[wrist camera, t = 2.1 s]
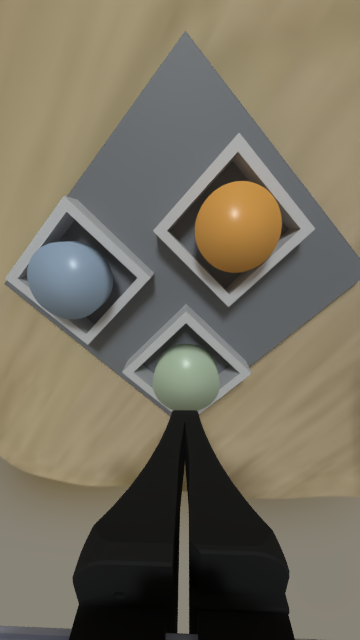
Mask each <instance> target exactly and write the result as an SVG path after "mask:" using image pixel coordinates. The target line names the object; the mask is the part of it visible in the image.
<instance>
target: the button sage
mask: <svg viewBox="0 0 360 640" xmlns="http://www.w3.org/2000/svg"><path fill="white" fill-rule="evenodd" d="M152 385H153V390H154V393H155V395H156V397H157V398H158V400H159V401H160V402H161V403H162V404H163V405H165V406H166V407H168V408H170V409H172V410H196V411H198V410H201V409H203V408H205V407H207V406H208V405H210V404H211V403H212V402H213V401H214V399H215V398H216V396H217V395H218V392H219V388H220V380H219V375H218V370H217V365H216V362H215V360H214V358H213V357H212V355H211V354H210V353H209V352H208V351H207V350H205V349H204V348H202V347H200V346H197V345H193V344H179V345H175V346H172V347H170V348H169V349H167V350H166V351H164V352H163V353H162V354H161V356H160V357H159V359H158V361H157V364H156V368H155V372H154V376H153V384H152Z"/></svg>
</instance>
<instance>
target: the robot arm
mask: <svg viewBox="0 0 360 640" xmlns="http://www.w3.org/2000/svg"><path fill="white" fill-rule="evenodd" d="M184 465H186V478H187V491H188V503H189V634H179V633H177V621H178V619H177V618H178V617H177V616H178V571H179V527H180V525H179V524H180V504H181V495H182V485H183V475H184ZM288 580H289V569H288V565H287V562H286V560H285V557H284V554H283V552H282V549H281V547H280V545H279V543H278V541H277V539H276V536H275V534H274V533H273V531H272V529H271V528H270V527H269V526H268V525H267V524H266V523H265V522H264V521H263V520H262V519H261V517H259V515H258V514H257V513H256V512H255V511H254V510H253V509H252V507H251V506H250V505H249V504H248V502H247V501H246V500H245V498H244V497H243V496H242V495H241V493H240V492H239V491H238V489H237V488H236V487H235V485H234V484H233V483H232V481H231V480H230V478H229V477H228V475H227V474H226V472H225V470H224V469H223V467H222V466H221V464H220V462H219V461H218V459H217V457H216V455H215V453H214V451H213V450H212V447H211V445H210V443H209V441H208V439H207V437H206V435H205V432H204V430H203V427H202V424H201V421H200V418H199V413H198V411H196V410H173V411H172V413H171V417H170V420H169V423H168V425H167V428H166V430H165V432H164V434H163V436H162V438H161V440H160V442H159V444H158V446H157V448H156V449H155V451H154V453H153V455H152V456H151V458H150V460H149V461H148V463H147V464H146V466H145V467H144V469H143V470H142V472H141V473H140V474H139V476H138V477H137V478H136V480H135V481H134V482H133V484H132V485H131V486H130V487H129V489H128V490H127V491H126V492H125V493H124V494H123V495H122V497H121V498H120V499H119V500H118V501H117V502H116V503H115V505H114V506H113V507H112V508H111V509H110V510H109V511H108V512H107V513H106V514H105V515H104V516H103V517H102V518H101V519H100V520H99V521H98V522H97V523H96V524H95V525H94V526H93V528H92V530H91V532H90V534H89V536H88V538H87V540H86V542H85V544H84V547H83V549H82V551H81V554H80V557H79V560H78V563H77V566H76V569H75V572H74V575H73V584H74V588H75V592H76V595H77V599H78V602H79V606H78V610H77V613H76V616H75V620H74V623H73V627H72V629H63V628H40V627H17V626H0V640H316V639H294V635H293V631H292V627H291V623H290V620H289V616H288V614H289V606H288V603H287V599H286V595H285V592H286V588H287V584H288Z"/></svg>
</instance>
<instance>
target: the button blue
mask: <svg viewBox="0 0 360 640" xmlns="http://www.w3.org/2000/svg"><path fill="white" fill-rule="evenodd" d="M27 279H28V284H29V288H30V290H31V292H32V294H33V296H34V298H35V299H36V300H37V302H38V303H39V304H40V305H41V306H42V307H43V308H44V309H45V310H47V311H48V312H50V313H51V314H53V315H55V316H58V317H61V318H65V319H80V318H84V317H86V316H88V315H90V314H92V313H93V312H94V311H96V310H97V309H98V308H99V307H100V306H101V305H103V304H104V303H105V302H106V301H107V299H108V298H109V296H110V294H111V292H112V288H113V274H112V270H111V268H110V265H109V263H108V262H107V260H106V258H105V257H104V256H103V255H102V254H101V253H100V252H99V251H98V250H97V249H96V248H94V247H92V246H91V245H89V244H86V243H83V242H79V241H65V242H54V243H49V244H47V245H44V246H42V247H41V248H39V249H38V250H37V251H36V252H35V253H34V254H33V256H32V257H31V259H30V262H29V264H28V269H27Z"/></svg>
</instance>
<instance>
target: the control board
mask: <svg viewBox="0 0 360 640" xmlns="http://www.w3.org/2000/svg"><path fill="white" fill-rule="evenodd" d="M235 181H249V182H253V183H256V184H259V185H260V186H262V187H264V188H265V189H266V190H268V191H269V192H270V193H271V194H272V195H273V197H274V198H275V200H276V202H277V204H278V206H279V208H280V212H281V217H282V229H281V235H280V238H279V241H278V243H277V246H276V247H275V249H274V251H273V252H272V254H271V255H270V256H269V257H268V258H267V259H266V260H265V261H264V262H263V263H262V264H260V265H259V266H257V267H255V268H253V269H251V270H248V271H245V272H239V273H231V272H225V271H222V270H219V269H217V268H215V267H214V266H212V265H211V264H210V263H209V262H208V261H207V260H206V259H205V258H204V257H203V255H202V254H201V252H200V250H199V248H198V246H197V243H196V240H195V231H194V230H195V222H196V218H197V215H198V212H199V210H200V208H201V206H202V205H203V203H204V202H205V200H206V199H207V198H208V197H209V196H210V195H211V194H212V193H213V192H214V191H215V190H217V189H218V188H220V187H221V186H223V185H225V184H228V183H231V182H235ZM65 241H79V242H83V243H86V244H89V245H91V246H92V247H94V248H96V249H97V250H98V251H99V252H100V253H101V254H102V255H103V256H104V257H105V258H106V260H107V262H108V263H109V265H110V268H111V270H112V274H113V288H112V292H111V294H110V296H109V298H108V299H107V301H106V302H105V303H104V304H103V305H101V306H100V307H99V308H98V309H97V310H96V311H94V312H93V313H92V314H90V315H88V316H86V317H84V318H80V319H65V318H61V317H58V316H55V315H53V314H51V313H50V312H48V311H47V310H45V309H44V308H43V307H42V306H41V305H40V304H39V303H38V302H37V300H36V299H35V298H34V296H33V294H32V292H31V290H30V288H29V284H28V279H27V269H28V264H29V262H30V259H31V257H32V256H33V254H34V253H35V252H36V251H37V250H38V249H39V248H41V247H42V246H44V245H47V244H49V243H54V242H65ZM5 279H6V280H7V281H6V282H5V285H7V286H8V287H9V288H10V289H12V290H13V291H14V292H15V293H17V294H18V295H19V296H20V297H22V298H23V299H24V300H25V301H27V302H28V303H29V304H30V305H32V306H33V307H34V308H35V309H37V310H38V311H39V312H40V313H42V314H43V315H44V316H45V317H47V318H48V319H49V320H50V321H52V322H53V323H54V324H55V325H57V326H58V327H59V328H60V329H62V330H63V331H64V332H66V333H67V334H68V335H69V336H71V337H72V338H73V339H74V340H76V341H77V342H78V343H79V344H81V345H82V346H83V347H84V348H86V349H87V350H88V351H89V352H91V353H92V354H93V355H94V356H96V357H97V358H98V359H99V360H101V361H102V362H103V363H104V364H106V365H107V366H108V367H109V368H111V369H112V370H113V371H114V372H116V373H117V374H118V375H119V376H121V377H122V378H123V379H125V380H126V381H127V382H128V383H130V384H131V385H132V386H133V387H135V388H136V389H137V390H138V391H140V392H141V393H142V394H143V395H145V396H146V397H147V398H148V399H150V400H151V401H152V402H153V403H155V404H156V405H157V406H158V407H160V408H161V409H162V410H163V411H165V412H166V413H167V414H168V415H170V416H171V413H172V411H173V410H172V409H170V408H168V407H166V406H165V405H163V404H162V403H161V402H160V401H159V400H158V398H157V397H156V395H155V393H154V390H153V385H152V384H153V376H154V372H155V368H156V364H157V361H158V359H159V357H160V356H161V354H162V353H163V352H164V351H166V350H167V349H169V348H170V347H172V346H175V345H179V344H193V345H197V346H200V347H202V348H204V349H205V350H207V351H208V352H209V353H210V354H211V355H212V357H213V358H214V360H215V362H216V365H217V370H218V375H219V380H220V388H219V392H218V395H217V396H216V398H215V399H214V401H213V402H212V403H211V404H210V405H212V404H213V403H214V402H216V401H217V400H218V399H219V398H221V397H222V396H223V395H225V394H226V393H227V392H228V391H230V390H231V389H232V388H234V387H235V386H236V385H237V384H239V383H240V382H241V381H243V380H244V379H245V378H246V377H248V376H249V375H250V374H252V373H251V371H250V369H249V367H250V366H251V365H253V364H254V363H255V362H256V361H258V360H259V359H260V358H261V357H263V356H264V355H265V354H267V353H268V352H269V351H270V350H272V349H273V348H274V347H275V346H277V345H278V344H279V343H280V342H282V341H283V340H284V339H286V338H287V337H288V336H289V335H291V334H292V333H293V332H294V331H296V330H297V329H298V328H299V327H301V326H302V325H303V324H305V323H306V322H307V321H308V320H310V319H311V318H312V317H313V316H315V315H316V314H317V313H319V312H320V311H321V310H322V309H324V308H325V307H326V306H327V305H329V304H330V303H331V302H332V301H334V300H335V299H336V298H338V297H339V296H340V295H341V294H343V293H344V292H345V291H346V290H348V289H349V288H350V287H351V286H353V285H354V284H355V283H357V282H358V281H359V280H360V258H359V257H358V255H357V254H356V253H355V251H354V250H353V249H352V248H351V246H350V245H349V244H348V242H347V241H346V240H345V238H344V237H343V236H342V234H341V233H340V232H339V231H338V229H337V228H336V227H335V225H334V224H333V223H332V221H331V220H330V219H329V218H328V216H327V215H326V214H325V212H324V211H323V210H322V208H321V207H320V206H319V204H318V203H317V202H316V201H315V199H314V198H313V197H312V195H311V194H310V193H309V191H308V190H307V189H306V187H305V186H304V185H303V184H302V182H301V181H300V180H299V178H298V177H297V176H296V174H295V173H294V172H293V171H292V169H291V168H290V167H289V165H288V164H287V163H286V161H285V160H284V159H283V157H282V156H281V155H280V154H279V152H278V151H277V150H276V148H275V147H274V146H273V144H272V143H271V142H270V140H269V139H268V138H267V137H266V135H265V134H264V133H263V131H262V130H261V129H260V127H259V126H258V125H257V124H256V122H255V121H254V120H253V118H252V117H251V116H250V114H249V113H248V112H247V110H246V109H245V108H244V107H243V105H242V104H241V103H240V101H239V100H238V99H237V97H236V96H235V95H234V93H233V92H232V91H231V90H230V88H229V87H228V86H227V84H226V83H225V82H224V80H223V79H222V78H221V77H220V75H219V74H218V73H217V71H216V70H215V69H214V67H213V66H212V65H211V63H210V62H209V61H208V60H207V58H206V57H205V56H204V54H203V53H202V52H201V50H200V49H199V48H198V46H197V45H196V44H195V43H194V41H193V40H192V39H191V37H190V36H189V35H188V33H187V32H186V31H185V32H184V33H183V35H182V36H181V38H180V39H179V40H178V42H177V43H176V45H175V46H174V47H173V49H172V50H171V52H170V53H169V54H168V56H167V57H166V59H165V60H164V61H163V63H162V64H161V66H160V67H159V68H158V70H157V71H156V73H155V74H154V75H153V77H152V78H151V80H150V81H149V82H148V84H147V85H146V86H145V88H144V89H143V91H142V92H141V93H140V95H139V96H138V98H137V99H136V100H135V102H134V103H133V105H132V106H131V107H130V109H129V110H128V112H127V113H126V114H125V116H124V117H123V119H122V120H121V121H120V123H119V124H118V126H117V127H116V128H115V130H114V131H113V133H112V134H111V135H110V137H109V138H108V140H107V141H106V142H105V144H104V145H103V147H102V148H101V149H100V151H99V152H98V154H97V155H96V156H95V158H94V159H93V161H92V162H91V163H90V165H89V166H88V168H87V169H86V170H85V172H84V173H83V175H82V176H81V177H80V179H79V180H78V182H77V183H76V184H75V186H74V187H73V189H72V190H71V191H70V193H69V194H68V196H63V198H62V199H61V201H60V202H59V203H58V205H57V206H56V208H55V209H54V210H53V212H52V213H51V215H50V216H49V217H48V219H47V220H46V222H45V223H44V225H43V226H42V227H41V229H40V230H39V232H38V233H37V234H36V236H35V237H34V239H33V240H32V241H31V243H30V244H29V246H28V247H27V248H26V250H25V251H24V253H23V254H22V256H21V257H20V258H19V260H18V261H17V263H16V264H15V265H14V267H13V268H12V270H11V271H10V272H9V274H8V275H7V277H6V278H5ZM210 405H208V406H207V407H205V408H203V409H201V410H198V413H199V414H200V413H201V412H203V411H204V410H205V409H207V408H208V407H209V406H210Z"/></svg>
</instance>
